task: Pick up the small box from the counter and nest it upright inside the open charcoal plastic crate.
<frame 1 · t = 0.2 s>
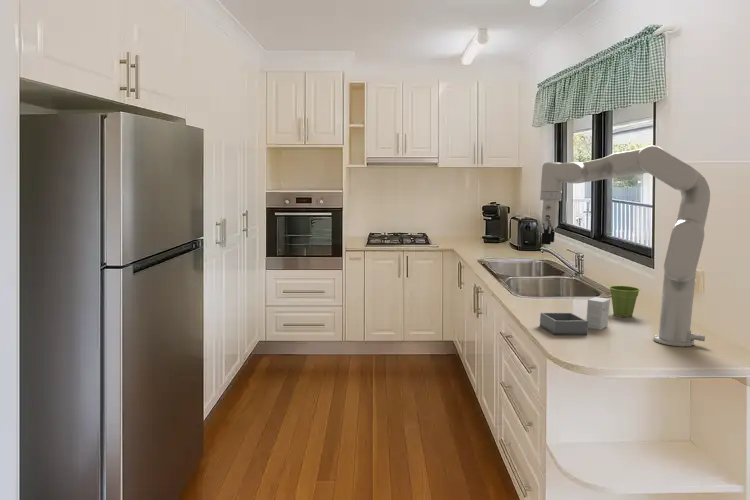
hand: (547, 243, 228), 31 cm above the countertop, fingers open, 9 cm apart
small box: (596, 327, 231), on the countertop
plant pot: (622, 315, 252), on the countertop
crate: (562, 330, 224), on the countertop
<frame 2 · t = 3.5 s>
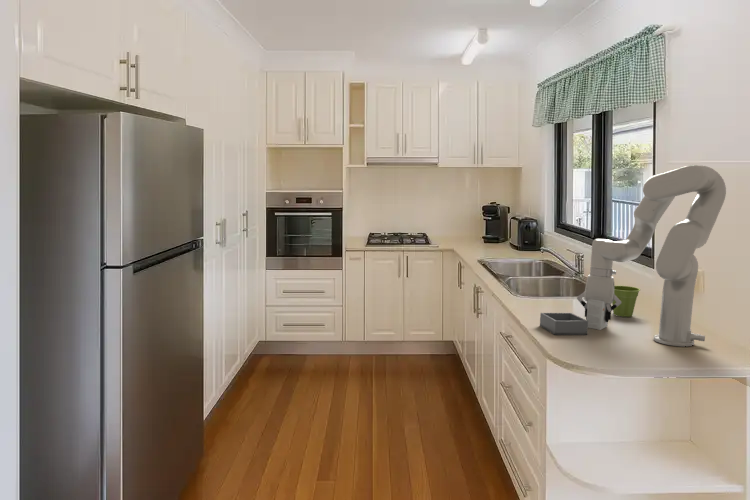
hand: (597, 319, 230), 3 cm above the countertop, fingers closed on small box, 6 cm apart
small box: (596, 327, 231), on the countertop, touching gripper
everything else where it was.
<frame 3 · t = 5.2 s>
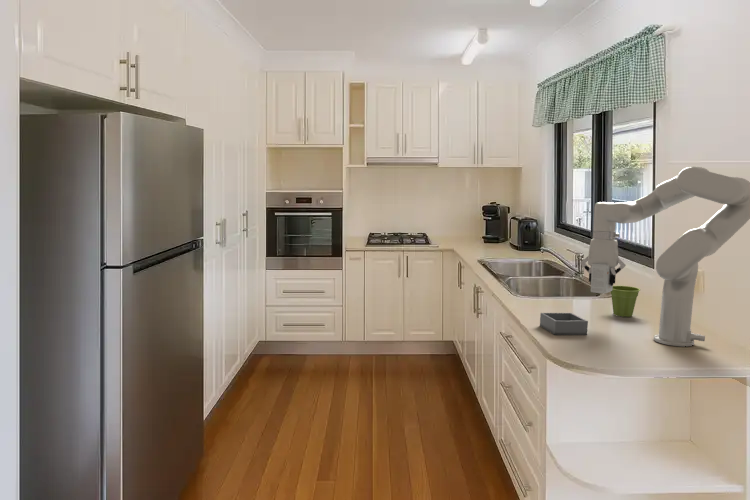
hand: (601, 284, 228), 16 cm above the countertop, fingers closed on small box, 6 cm apart
small box: (601, 292, 229), point 13 cm above the countertop, touching gripper
everything else where it was.
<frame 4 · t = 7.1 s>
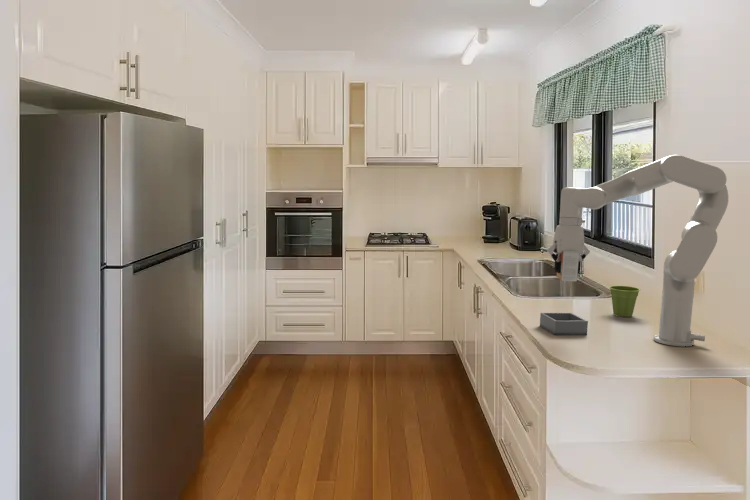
hand: (567, 272, 221), 21 cm above the countertop, fingers closed on small box, 6 cm apart
small box: (566, 280, 221), point 18 cm above the countertop, touching gripper
everything else where it was.
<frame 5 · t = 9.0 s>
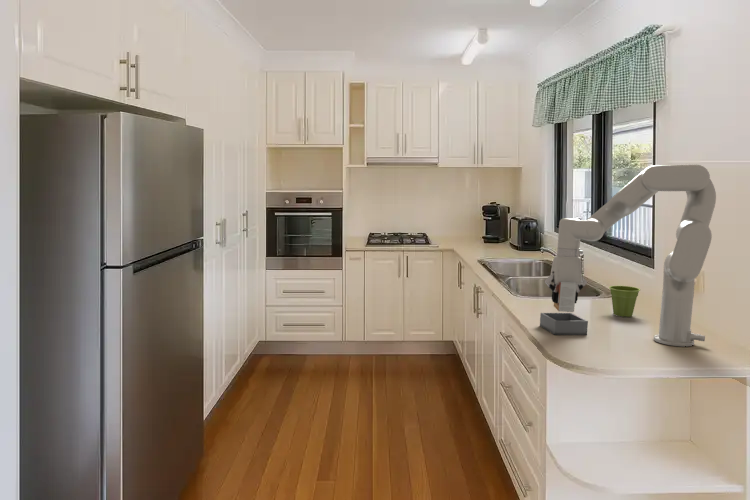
hand: (564, 302, 222), 10 cm above the countertop, fingers closed on small box, 6 cm apart
small box: (563, 310, 223), point 7 cm above the countertop, touching gripper
everything else where it was.
when the fingers open (5 cm above the countertop, at t = 10.6 s): small box drops 1 cm, resting on crate.
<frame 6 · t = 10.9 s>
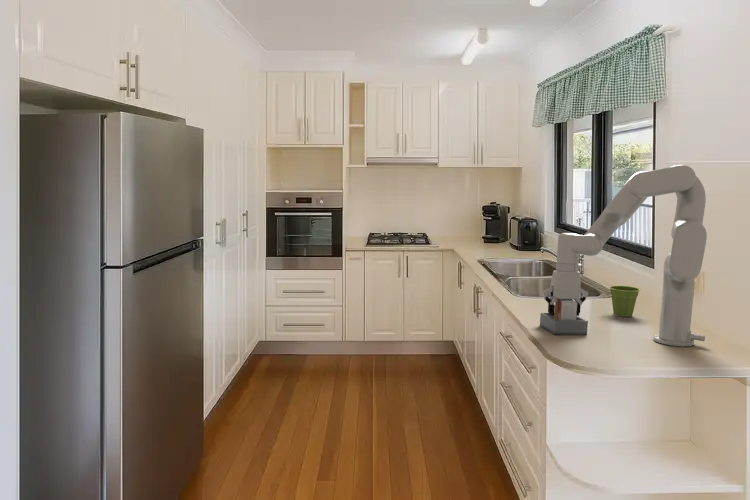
hand: (563, 314, 223), 6 cm above the countertop, fingers open, 9 cm apart
small box: (564, 328, 224), point 1 cm above the countertop, touching crate
everything else where it was.
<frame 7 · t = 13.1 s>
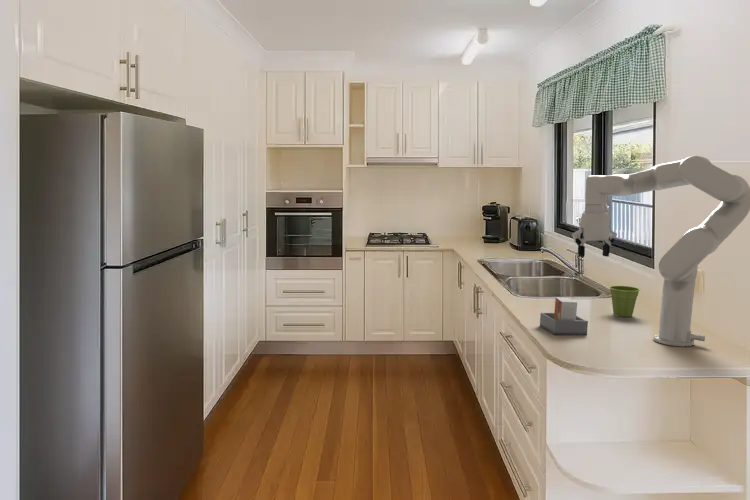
hand: (593, 256, 227), 27 cm above the countertop, fingers open, 9 cm apart
nothing on the countertop moved.
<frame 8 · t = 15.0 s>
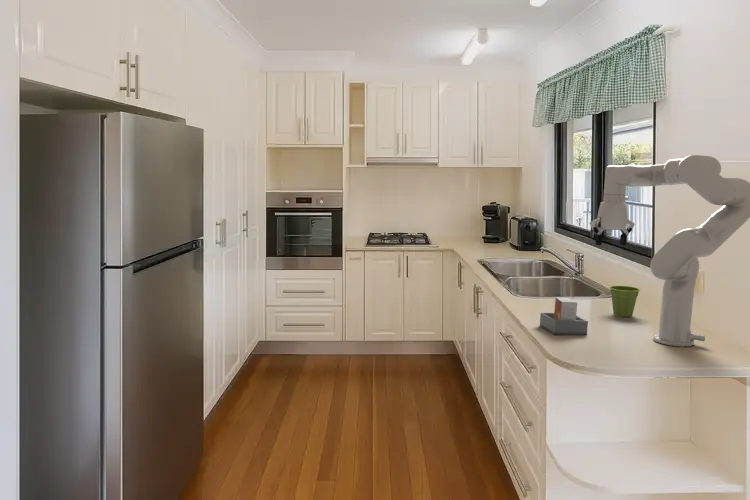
hand: (610, 245, 231), 30 cm above the countertop, fingers open, 9 cm apart
nothing on the countertop moved.
at the end: small box 0.4 cm off-centre on the crate, point 0.6 cm above the crate's base; small box tilted 0°; the gripper is holding nothing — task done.
